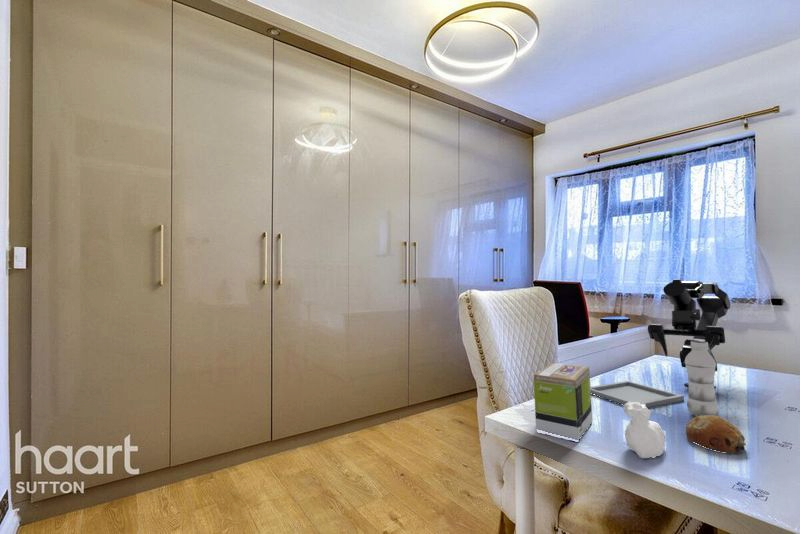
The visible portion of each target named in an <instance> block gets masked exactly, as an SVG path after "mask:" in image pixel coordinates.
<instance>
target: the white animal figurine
mask: <svg viewBox="0 0 800 534" xmlns="http://www.w3.org/2000/svg"><path fill="white" fill-rule="evenodd" d="M622 406H623V405H622ZM622 408H623V412H624V413H625V415H626V416H627V418H628V419H630V418H631V420H630V422H629V424H627V425H626V428H625V430H624V432H625V433H624V438H625V442H626V446H627V447H628V449H630V450H631V451H633V452H635V453H636V454H637V456H638V457H639V458H641V459H651V458H650V457H655V456H658V457H659V456H661V455H663V453H664V448H665V446H666V434H665V432H664V431H663V429H662V427H661V426H660V424H659V423H658V422H656V421H654V420H653V421H652V420H649V419H650V417H651V416H652V412H651V410H650V408H649V409H648V408H647V407H646V404H642V405H641V404H640V403H639V402H636V403H635V402H627V403H626V404H624V406H623V407H622Z"/></svg>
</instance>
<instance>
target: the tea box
mask: <svg viewBox="0 0 800 534" xmlns="http://www.w3.org/2000/svg"><path fill="white" fill-rule="evenodd" d="M590 373H591V372H590V366H583V365H582V366H581V365H574V364H573V365H572V364H564V363H555V362H551V363H549V364H547V366H544V367H543V368H541V369H540V370H539V371H537V372H536V373H534V374H533V388H534V390H533V391H534V392H533V394H534V395H533V396H534V411H535V412H534V413H535V414H534V415H535V430H536V429H538V430H542V431H545V432H548V433H552V434H556V435H560V436H564V437H568V438H572V439H575V440H579V439H580V437H581V436H582V435H583V433H584V432H585V431H586V430H587V431H588V429H589V428H590V427H591V425H592V424H591V423H593V422H592V421H593V407H592V395H591V388H590V387H591V378H590ZM590 424H591V425H590ZM589 426H590V427H589ZM588 427H589V428H588ZM587 428H588V429H587ZM587 431H586V432H587ZM586 432H585V433H586ZM583 436H584V435H583ZM583 436H582V437H583ZM580 440H581V439H580Z"/></svg>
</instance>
